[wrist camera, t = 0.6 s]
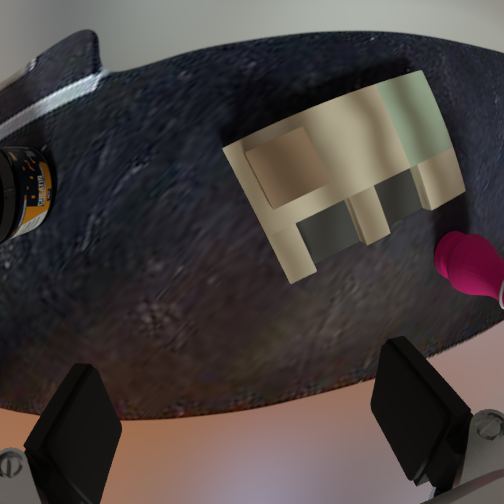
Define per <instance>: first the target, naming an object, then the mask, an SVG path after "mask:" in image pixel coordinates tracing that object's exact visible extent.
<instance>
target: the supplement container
mask: <svg viewBox="0 0 504 504" xmlns="http://www.w3.org/2000/svg"><path fill="white" fill-rule="evenodd" d="M55 197H56V177H55V173H54V169H53V167H52V164H51V162H50V160H49V159H48V157H47V156H46V155H45V154H44V153H43V152H42V151H41V150H39V149H37V148H35V147H31V146H21V147H0V244H2V243H4V242H5V241H6V240H9V239H11V238H13V237H16V236H18V235H21V234H23V233H26V232H29V231H32V230H35V229H37V228H38V227H40V226H41V225H42V224H43V223H44V222H45V221H46V220H47V218H48V217H49V215H50V213H51V211H52V209H53V206H54V202H55Z"/></svg>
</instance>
